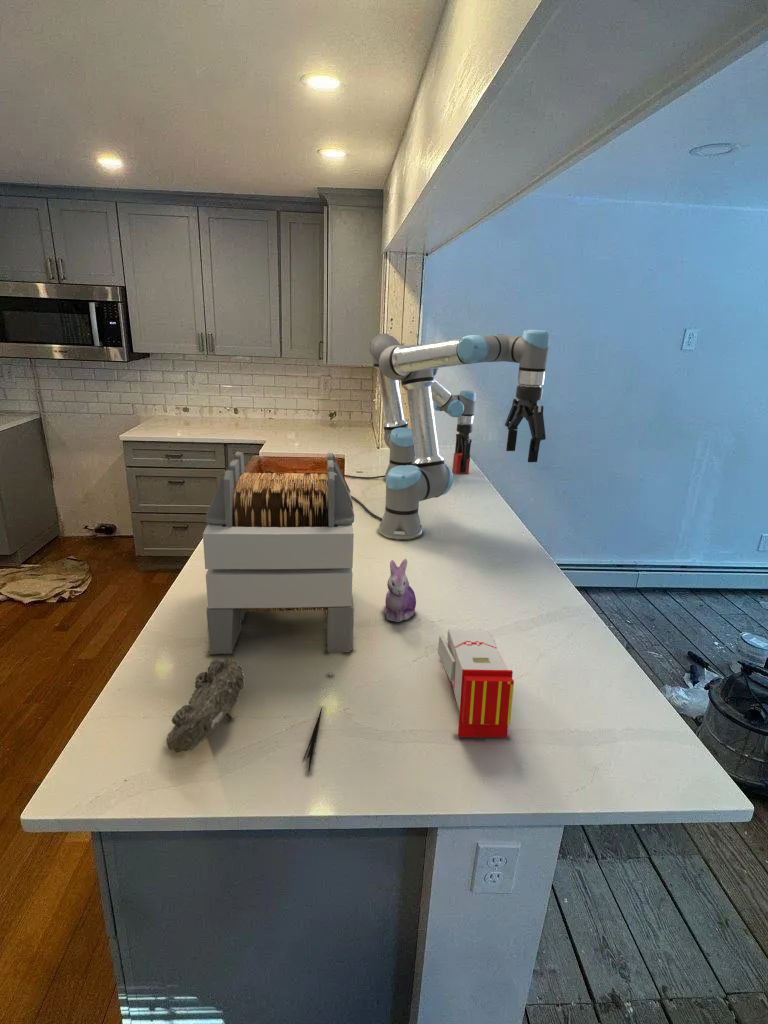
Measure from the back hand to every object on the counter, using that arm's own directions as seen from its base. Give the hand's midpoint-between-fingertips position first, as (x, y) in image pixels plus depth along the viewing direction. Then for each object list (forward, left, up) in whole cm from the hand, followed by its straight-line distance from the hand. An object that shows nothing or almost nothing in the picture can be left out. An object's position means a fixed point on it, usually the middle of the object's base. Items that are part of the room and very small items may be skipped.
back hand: (460, 470), depth 279 cm
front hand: (+46, -90, +33) cm, 107 cm away
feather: (+32, -185, -1) cm, 188 cm away
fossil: (+14, -194, -1) cm, 194 cm away
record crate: (+5, -156, -1) cm, 157 cm away
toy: (+55, -163, -1) cm, 172 cm away
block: (0, 0, -1) cm, 1 cm away
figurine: (+30, -141, -1) cm, 144 cm away
